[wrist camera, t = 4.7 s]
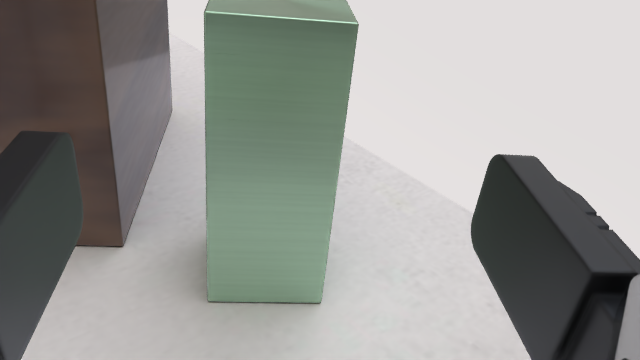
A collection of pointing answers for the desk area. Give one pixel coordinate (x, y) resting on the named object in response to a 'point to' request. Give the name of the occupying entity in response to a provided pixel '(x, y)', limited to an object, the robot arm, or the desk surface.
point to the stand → (90, 95)
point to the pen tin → (273, 143)
